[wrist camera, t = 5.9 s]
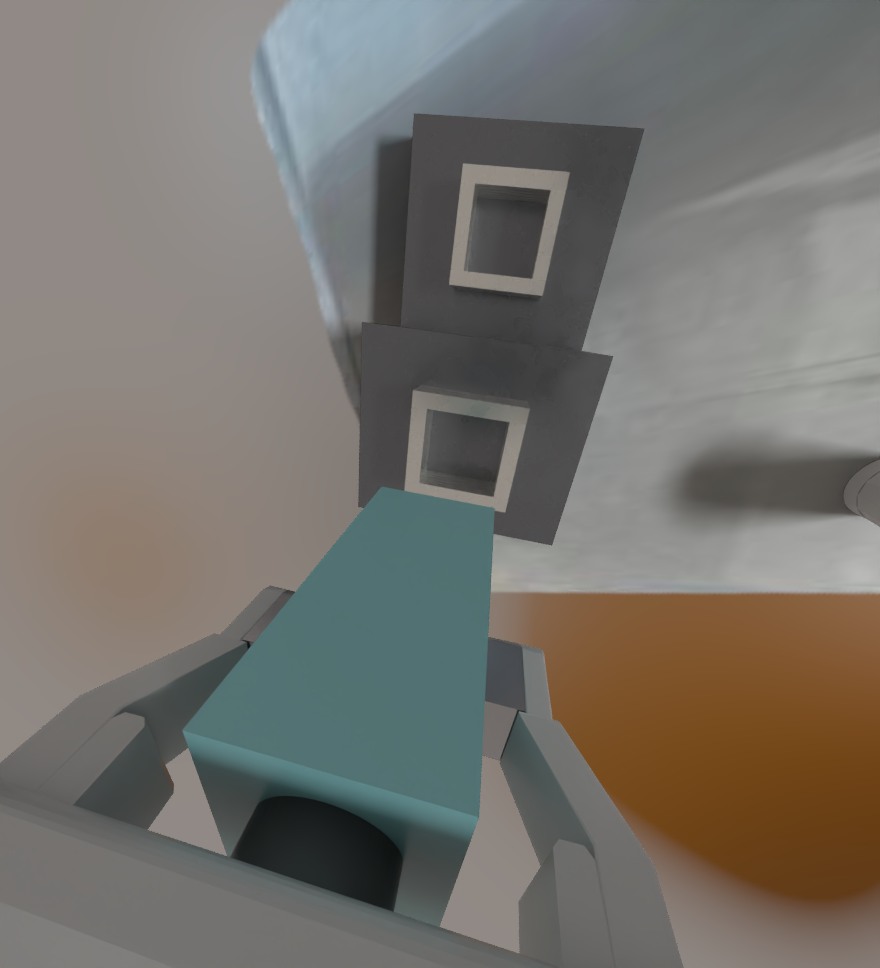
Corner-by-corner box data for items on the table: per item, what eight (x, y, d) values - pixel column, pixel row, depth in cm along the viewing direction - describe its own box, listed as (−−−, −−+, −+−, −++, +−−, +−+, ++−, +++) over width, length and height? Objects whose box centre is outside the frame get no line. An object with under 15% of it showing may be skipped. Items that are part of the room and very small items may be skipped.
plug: (381, 486, 12) (-41, 1002, 3) (494, 507, 11) (458, 1215, 2) (376, 590, 14) (129, 1083, 5) (471, 611, 13) (403, 1200, 4)
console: (423, 136, 27) (346, -58, 14) (629, 151, 25) (768, -55, 12) (399, 459, 38) (345, 521, 25) (537, 484, 37) (556, 565, 24)
